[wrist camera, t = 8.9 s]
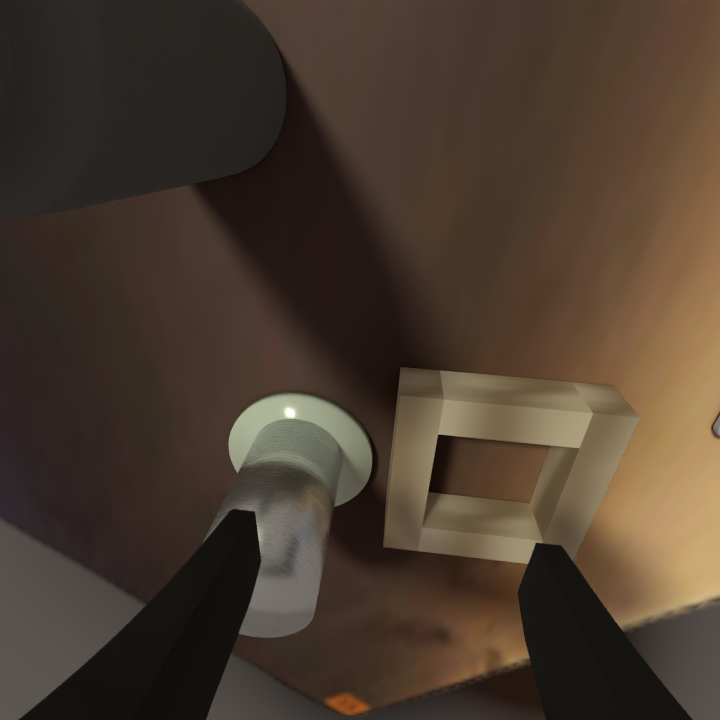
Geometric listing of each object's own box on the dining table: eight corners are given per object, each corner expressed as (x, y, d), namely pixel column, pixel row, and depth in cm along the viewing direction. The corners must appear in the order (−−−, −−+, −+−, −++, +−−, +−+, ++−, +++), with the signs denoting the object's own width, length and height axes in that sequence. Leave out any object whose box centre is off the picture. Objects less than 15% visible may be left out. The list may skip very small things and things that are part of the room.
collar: (613, 385, 19) (640, 417, 17) (555, 529, 24) (570, 568, 22) (400, 367, 20) (399, 395, 18) (385, 510, 25) (383, 547, 22)
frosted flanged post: (344, 423, 21) (315, 566, 14) (341, 493, 23) (314, 644, 16) (249, 414, 21) (174, 548, 14) (256, 483, 24) (194, 628, 17)
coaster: (377, 399, 21) (376, 405, 20) (368, 508, 25) (367, 516, 24) (225, 385, 21) (220, 391, 21) (240, 494, 25) (236, 502, 25)
